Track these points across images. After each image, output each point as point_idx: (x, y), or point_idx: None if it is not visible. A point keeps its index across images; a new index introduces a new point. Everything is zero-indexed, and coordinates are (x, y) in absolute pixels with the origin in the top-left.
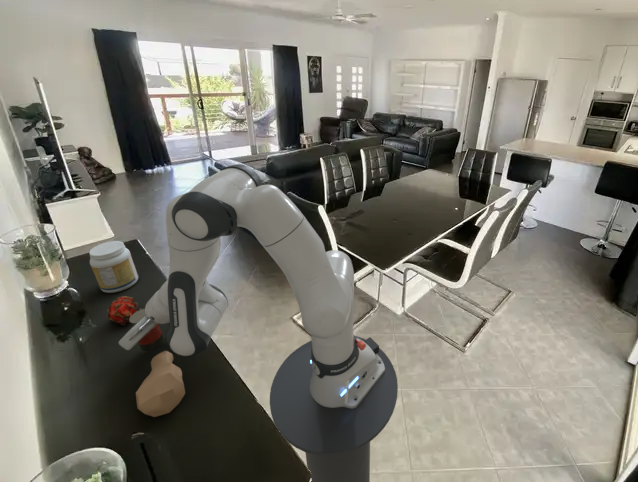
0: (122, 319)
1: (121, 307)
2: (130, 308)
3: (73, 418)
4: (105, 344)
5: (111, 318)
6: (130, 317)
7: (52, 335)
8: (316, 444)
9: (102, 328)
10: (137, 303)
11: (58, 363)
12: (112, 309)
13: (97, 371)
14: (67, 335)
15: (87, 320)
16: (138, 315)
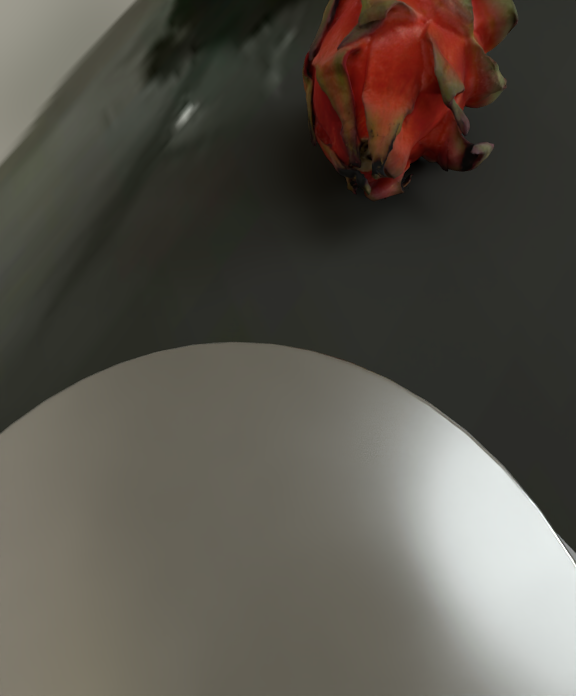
0: (342, 151)
1: (388, 44)
2: (434, 97)
3: None
4: (201, 243)
5: (309, 94)
6: (28, 424)
7: (160, 19)
8: None
9: (278, 123)
10: (501, 85)
11: (38, 181)
12: (341, 23)
13: (26, 411)
14: (181, 56)
15: (282, 30)
16: (150, 589)
